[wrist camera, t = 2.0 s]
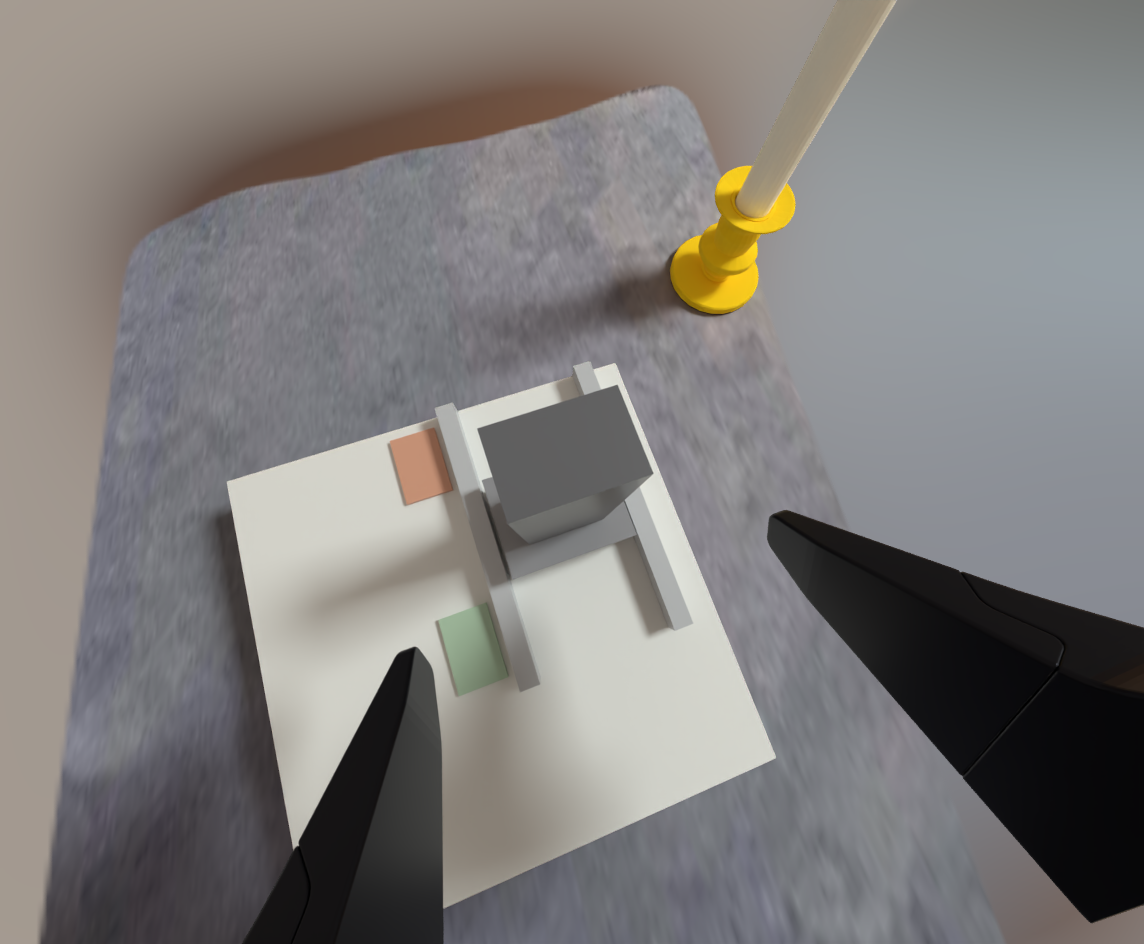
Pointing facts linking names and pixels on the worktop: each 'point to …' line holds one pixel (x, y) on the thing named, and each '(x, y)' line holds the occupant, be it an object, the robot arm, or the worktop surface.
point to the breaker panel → (489, 642)
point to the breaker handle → (563, 479)
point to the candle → (773, 168)
